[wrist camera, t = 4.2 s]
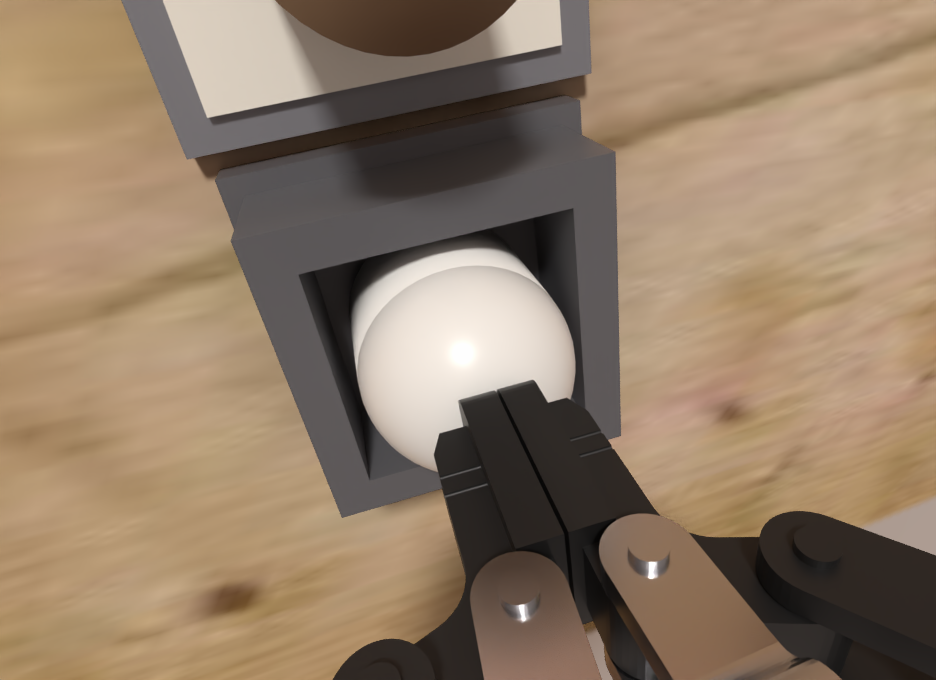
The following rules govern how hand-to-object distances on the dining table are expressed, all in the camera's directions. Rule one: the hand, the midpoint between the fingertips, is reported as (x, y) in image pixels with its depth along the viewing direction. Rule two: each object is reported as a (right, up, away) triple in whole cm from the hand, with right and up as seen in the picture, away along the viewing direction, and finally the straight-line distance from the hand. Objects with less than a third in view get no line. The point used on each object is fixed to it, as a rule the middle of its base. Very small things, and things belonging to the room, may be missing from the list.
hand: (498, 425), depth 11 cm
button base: (-2, +3, +6) cm, 7 cm away
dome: (-1, +3, +5) cm, 6 cm away
